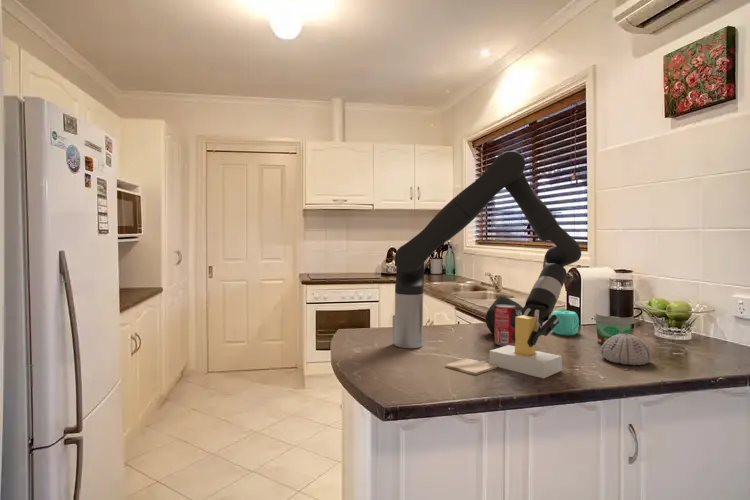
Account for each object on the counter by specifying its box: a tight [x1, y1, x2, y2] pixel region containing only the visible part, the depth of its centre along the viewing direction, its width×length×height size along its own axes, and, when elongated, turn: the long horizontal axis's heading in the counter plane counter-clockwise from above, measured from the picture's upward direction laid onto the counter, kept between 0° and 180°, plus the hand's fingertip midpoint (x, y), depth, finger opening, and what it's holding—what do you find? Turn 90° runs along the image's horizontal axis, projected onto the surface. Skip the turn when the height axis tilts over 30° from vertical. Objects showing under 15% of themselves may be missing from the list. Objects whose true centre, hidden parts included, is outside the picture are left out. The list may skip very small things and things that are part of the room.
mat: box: [444, 357, 498, 376], centre depth 124 cm, size 10×10×1 cm
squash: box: [485, 295, 524, 336], centre depth 164 cm, size 14×15×15 cm
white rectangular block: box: [488, 345, 563, 379], centre depth 124 cm, size 16×10×4 cm, turn 43°
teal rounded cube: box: [551, 310, 580, 336], centre depth 169 cm, size 8×8×8 cm
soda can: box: [494, 304, 517, 347], centre depth 151 cm, size 7×7×13 cm
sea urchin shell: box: [599, 333, 653, 366], centre depth 132 cm, size 13×14×8 cm
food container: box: [593, 313, 635, 346], centre depth 150 cm, size 12×6×10 cm, turn 68°
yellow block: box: [514, 315, 537, 357], centre depth 124 cm, size 4×4×14 cm
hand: (521, 343), depth 122 cm, fingers closed on yellow block, 4 cm apart
